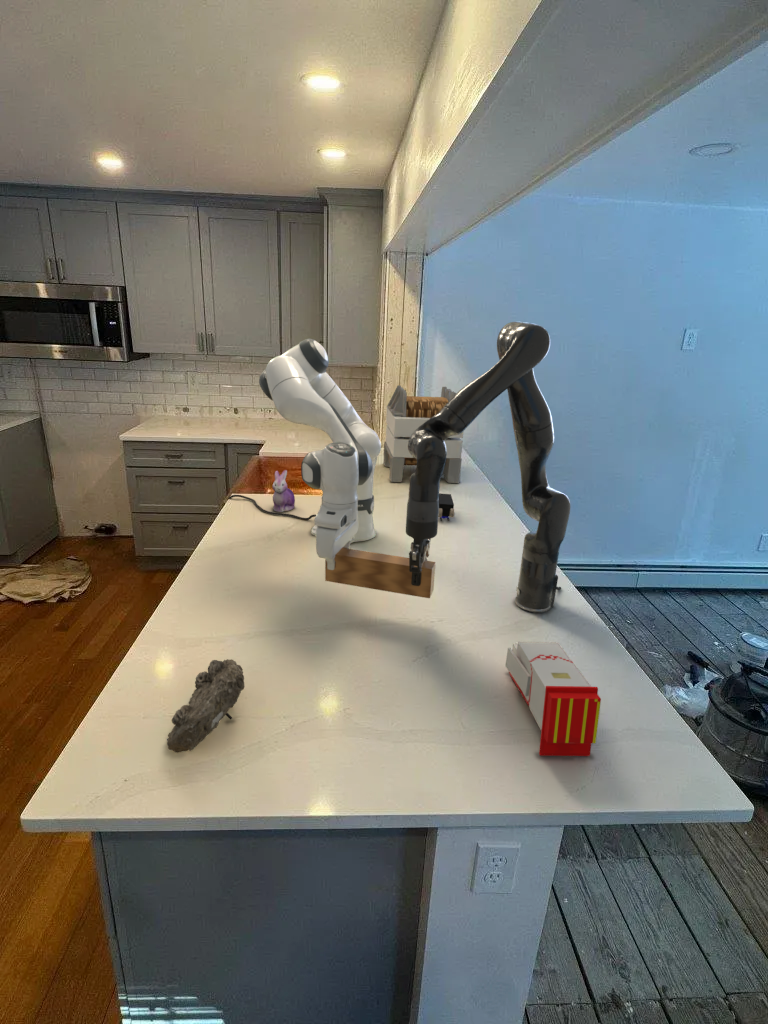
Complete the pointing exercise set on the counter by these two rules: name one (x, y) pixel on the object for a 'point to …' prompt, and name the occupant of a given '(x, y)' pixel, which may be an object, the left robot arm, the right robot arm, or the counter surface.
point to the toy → (556, 697)
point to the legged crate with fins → (405, 420)
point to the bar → (380, 572)
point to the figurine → (282, 493)
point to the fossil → (206, 705)
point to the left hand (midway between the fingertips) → (338, 561)
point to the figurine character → (446, 506)
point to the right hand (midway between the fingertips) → (418, 580)
